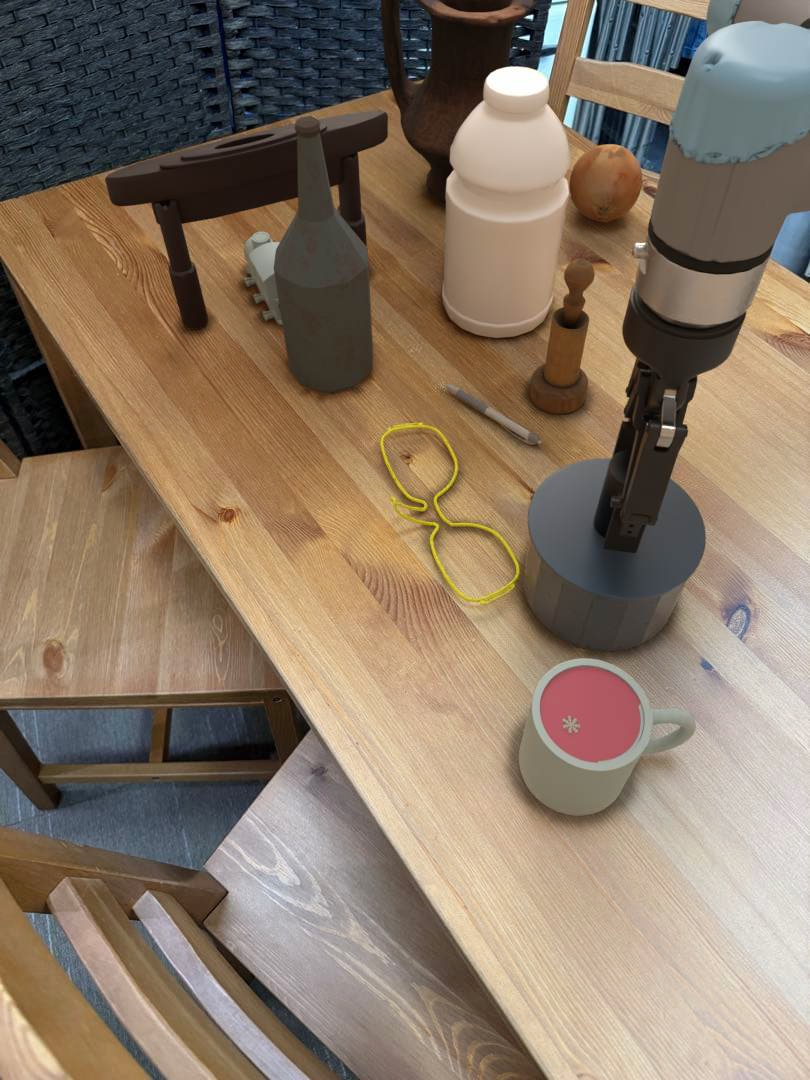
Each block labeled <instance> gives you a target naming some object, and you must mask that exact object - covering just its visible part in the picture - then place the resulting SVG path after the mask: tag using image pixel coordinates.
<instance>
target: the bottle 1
mask: <svg viewBox="0 0 810 1080" xmlns="http://www.w3.org/2000/svg"><path fill="white" fill-rule="evenodd" d="M318 119H319V118H316V117H314V116H311V115H306V116H301V117H299V118H298V119H296V121H295V123H294V124H295V127H294V128H295V131H296V133H297V149H298V198H297V212H296V213H295V215H294V216H293V219H292V220H291V222H290V224H289V226H288V227H287V229H286V230H285V233H284V234H283V236H282V238H281V240H280V241H279V242H280V243H279V245H278V247H277V248H276V253H275V261H274V273H275V280H276V286H277V293H278V299H279V305H280V312H281V318H282V324H283V326H282V331H283V336H284V337H283V338H284V343H285V349H286V356H287V361H288V368H289V372H290V373H291V375H292V377H293V378H294V380H295V381H296V382H297V383H299V384H300V385H302V386H305V387H306V388H309V389H310V390H312V391H314V392H316V393H318V394H325V395H333V394H336V393H342V392H344V391H348V390H349V391H350V390H354V389H356V388H357V387H358V386H359V385H360V384H361V383H362V382H363V381H364V380H365V379H366V378H368V376H369V375H370V374H371V373H372V371H373V369H374V367H373V365H374V346H373V345H374V344H373V326H372V325H373V324H372V306H371V305H372V304H371V288H370V287H371V286H370V267H369V265H370V264H369V250H368V249H369V248H368V246H367V247H366V245H365V244H364V243H363V242H362V241H361V239H360V238H359V237H358V236H357V235H356V233H355V232H354V231H353V230H352V229H351V227H350V226H349V225H348V224H347V223H346V221H345V220H344V219H343V218H342V217H341V216H340V214H339V213H338V212H337V209H336V208H335V205H334V199H333V195H332V189H331V187H330V184H329V178H328V173H327V168H326V163H325V158H324V153H323V148H322V143H321V138H320V133H319V131H320V125H321V123H320V122H319V120H318Z"/></svg>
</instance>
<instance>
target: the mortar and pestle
mask: <svg viewBox="0 0 810 1080" xmlns="http://www.w3.org/2000/svg"><path fill="white" fill-rule="evenodd" d="M595 274H596V273H595V268H594V266H593V264H592V263H591V262H590V261H588V260H586V259H583V258H576V259H574V260H572V261H571V262H569V263H568V264H567V265H566V268H565V269H564V273H563V278H564V282H565V285H566V287H567V289H568V293H566V294H565V295H564V296H563V299H562V305H563V306H562V307H560V308H558V309H557V308H556V310H554V311H553V313H552V316H551V321H550V322H551V323H550V327H549V328H550V329H549V334H548V335H549V336H548V342H547V349H546V356H545V362H544V363H542V364H541V365H539V366H538V367H536V368H535V370H534V371H533V373H532V375H531V380H530V385H529V397H530V400H531V402H532V403H533V404H534V405H535V406H536V407H537V408H538V409H540V410H542V411H543V412H546V413H549V414H553V415H554V414H555V415H563V414H564V415H565V414H569V413H573V412H575V411H577V410H578V409H580V408H581V407H582V405H583V404H584V403H585V401H586V397H587V393H588V388H589V378H588V376H587V374H586V373H585V371H584V369H582V368H581V366H582V359H583V355H584V348H585V344H586V339H587V334H588V329H589V324H590V316H589V314H588V313H587V312H586V311H584V307H585V305H586V298H585V296H584V293H585V291H586V290H587V289H588V288H590V286H591V285H592V283H593V282H594V280H595Z"/></svg>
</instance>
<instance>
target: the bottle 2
mask: <svg viewBox="0 0 810 1080" xmlns="http://www.w3.org/2000/svg"><path fill="white" fill-rule="evenodd" d="M549 82H550V81H549V79H548V78H547V77H546V75H545V74H544V73H542V72H541V71H539V70H537V69H534V68H530V67H526V66H509V67H505V68H501V69H497V70H495V71H494V72H492V73H490V75H489V76H488V77H487V78H486V80H485V83H484V90H483V99H484V100H483V101H482V102H481V103H480V104H479V105H478V106H477V107H476V108H475V109H474V110H473V111H472V112H471V113H470V115H469V116H468V117H467V119H466V120H465V121H464V123H463V124H462V125H461V127H460V128H459V130H458V132H457V134H456V136H455V138H454V141H453V143H452V145H451V148H450V163H451V165H452V167H453V168H454V170H453V171H452V173H451V174H450V175H449V177H448V178H447V183H446V205H445V235H444V268H443V282H442V291H441V292H442V293H441V298H442V304H443V308H444V310H445V312H446V313H447V316H448V318H449V319H450V320H451V321H452V322H453V323H454V324H455V325H457V326H458V327H459V328H460V329H462V330H464V331H467V332H469V333H471V334H474V335H476V336H480V337H481V336H482V337H487V338H494V339H499V338H511V337H512V338H513V337H517V336H520V335H523V334H527V333H530V332H531V331H534V329H536V328H537V327H538V326H539V325H541V324H542V323H544V321H545V320H546V317H547V316H548V313H549V312H550V309H551V307H552V304H553V301H554V294H553V293H554V287H555V281H556V276H557V269H558V263H559V257H560V251H561V244H562V238H563V231H564V225H565V220H566V215H567V214H566V213H567V208H568V203H569V201H570V200H569V199H570V189H569V182H568V180H567V178H566V177H565V176H566V175H567V172H568V171H569V169H570V168H571V166H572V154H571V148H570V145H569V138H568V135H567V133H566V130H565V127H564V125H563V123H562V122H561V120H560V119H559V117H558V116H557V114H556V113H555V112H554V110H553V109H552V108H551V107H550V105H549V104H548V101H549V100H550V83H549Z"/></svg>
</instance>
